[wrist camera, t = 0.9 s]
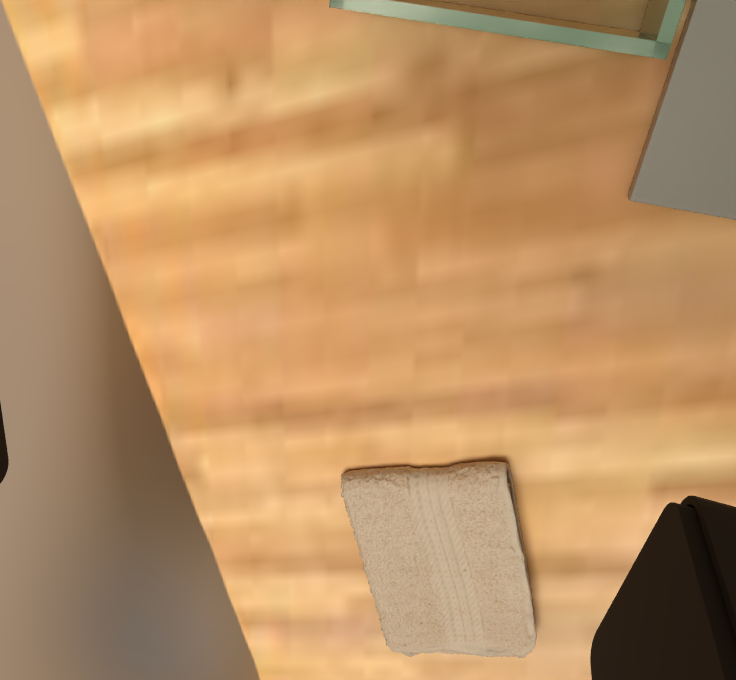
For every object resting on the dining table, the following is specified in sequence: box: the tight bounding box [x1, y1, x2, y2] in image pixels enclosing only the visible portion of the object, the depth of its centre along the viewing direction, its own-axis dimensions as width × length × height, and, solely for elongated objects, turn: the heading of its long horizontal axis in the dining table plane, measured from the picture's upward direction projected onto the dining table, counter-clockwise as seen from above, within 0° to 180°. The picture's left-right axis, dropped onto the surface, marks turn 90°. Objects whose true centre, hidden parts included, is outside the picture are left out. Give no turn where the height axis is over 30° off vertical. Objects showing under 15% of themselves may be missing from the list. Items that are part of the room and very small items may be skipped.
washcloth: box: [341, 461, 537, 658], centre depth 48 cm, size 12×18×3 cm, turn 14°
